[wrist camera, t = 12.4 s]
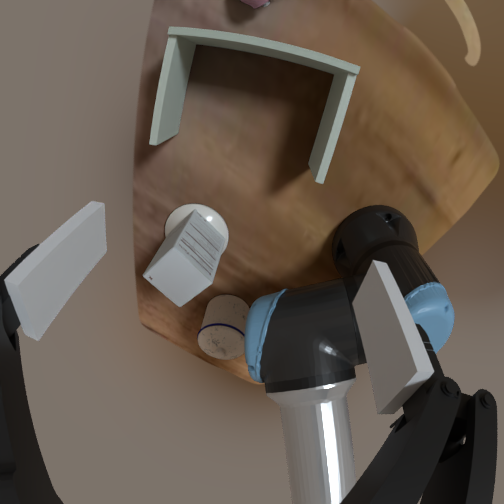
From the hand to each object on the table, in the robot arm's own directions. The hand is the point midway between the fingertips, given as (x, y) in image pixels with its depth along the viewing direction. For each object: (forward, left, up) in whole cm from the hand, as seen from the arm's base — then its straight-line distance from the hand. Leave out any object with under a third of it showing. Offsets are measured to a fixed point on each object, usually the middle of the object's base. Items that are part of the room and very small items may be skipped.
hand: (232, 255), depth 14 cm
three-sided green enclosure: (+5, -3, -32) cm, 33 cm away
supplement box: (-5, +19, -32) cm, 38 cm away
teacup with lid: (-22, +26, -33) cm, 47 cm away
